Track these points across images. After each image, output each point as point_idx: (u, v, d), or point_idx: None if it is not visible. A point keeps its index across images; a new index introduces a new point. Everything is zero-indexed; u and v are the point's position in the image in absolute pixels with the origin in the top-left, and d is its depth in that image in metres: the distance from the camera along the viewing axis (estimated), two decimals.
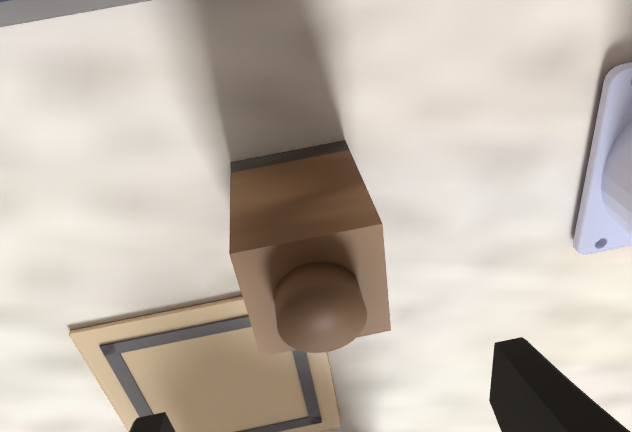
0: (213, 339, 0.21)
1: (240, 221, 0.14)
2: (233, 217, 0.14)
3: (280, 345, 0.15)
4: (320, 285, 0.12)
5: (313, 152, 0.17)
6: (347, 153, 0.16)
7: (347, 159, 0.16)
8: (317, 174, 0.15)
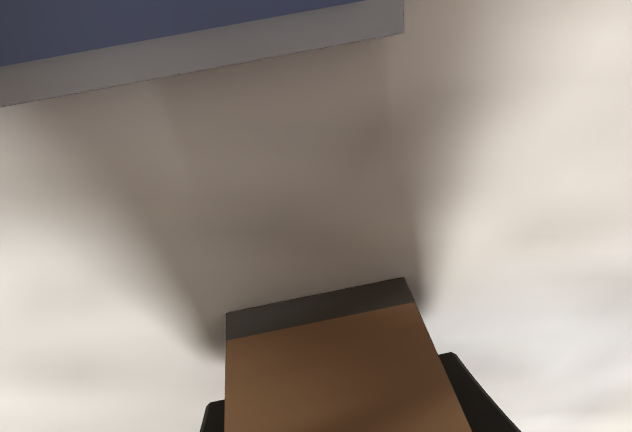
0: None
1: None
2: None
3: None
4: None
5: (356, 302, 0.11)
6: (412, 310, 0.10)
7: (415, 325, 0.10)
8: (370, 360, 0.09)
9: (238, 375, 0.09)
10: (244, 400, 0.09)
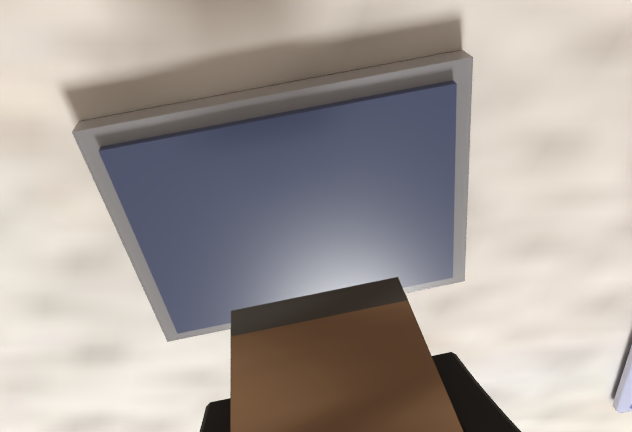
0: None
1: None
2: None
3: None
4: None
5: (353, 300, 0.11)
6: (405, 308, 0.11)
7: (407, 321, 0.11)
8: (366, 355, 0.10)
9: (243, 368, 0.10)
10: (248, 392, 0.10)
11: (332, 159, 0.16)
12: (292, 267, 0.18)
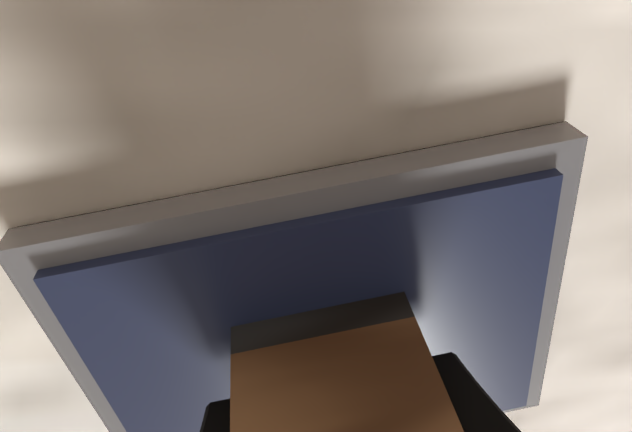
0: None
1: None
2: None
3: None
4: None
5: (358, 316, 0.11)
6: (413, 324, 0.10)
7: (415, 339, 0.10)
8: (371, 375, 0.10)
9: (243, 389, 0.10)
10: (249, 414, 0.09)
11: (376, 277, 0.11)
12: None
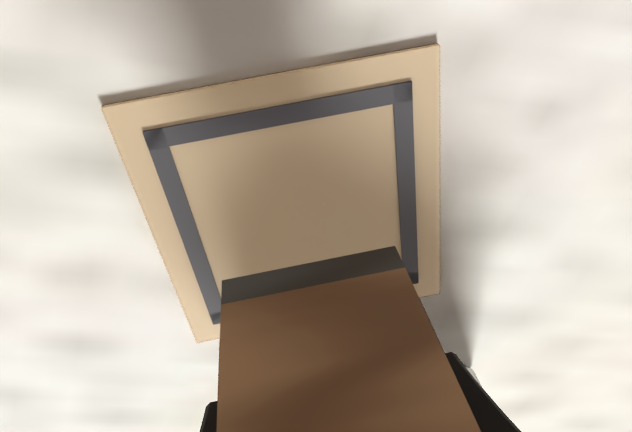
0: (296, 133, 0.15)
1: (236, 426, 0.08)
2: (223, 415, 0.08)
3: None
4: None
5: (348, 268, 0.11)
6: (403, 274, 0.10)
7: (404, 287, 0.10)
8: (361, 319, 0.10)
9: (232, 334, 0.10)
10: (238, 356, 0.09)
11: None
12: None
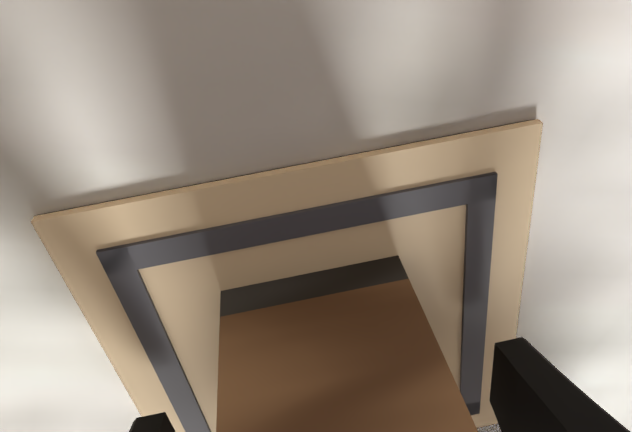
0: (324, 245, 0.11)
1: None
2: None
3: None
4: None
5: (350, 279, 0.11)
6: (406, 286, 0.10)
7: (408, 300, 0.10)
8: (364, 334, 0.09)
9: (231, 349, 0.09)
10: (237, 373, 0.09)
11: None
12: None
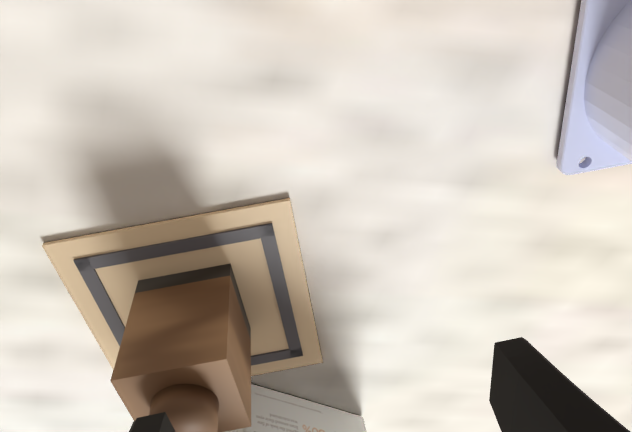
0: (189, 258, 0.21)
1: (127, 346, 0.18)
2: (123, 342, 0.18)
3: None
4: (176, 406, 0.17)
5: (202, 275, 0.21)
6: (227, 279, 0.20)
7: (225, 286, 0.20)
8: (198, 301, 0.20)
9: (136, 308, 0.20)
10: (136, 318, 0.19)
11: None
12: None
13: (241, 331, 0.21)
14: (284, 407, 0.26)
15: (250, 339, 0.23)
